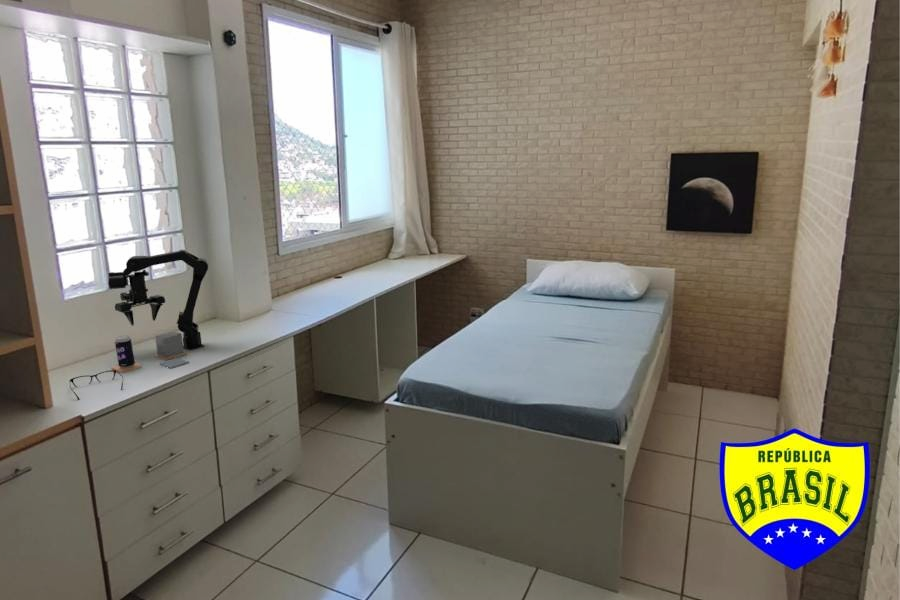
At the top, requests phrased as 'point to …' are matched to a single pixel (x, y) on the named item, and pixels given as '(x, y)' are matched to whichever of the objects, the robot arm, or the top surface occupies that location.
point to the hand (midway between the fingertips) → (143, 323)
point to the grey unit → (169, 346)
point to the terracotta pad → (126, 368)
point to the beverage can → (124, 351)
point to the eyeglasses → (96, 378)
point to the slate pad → (174, 363)
